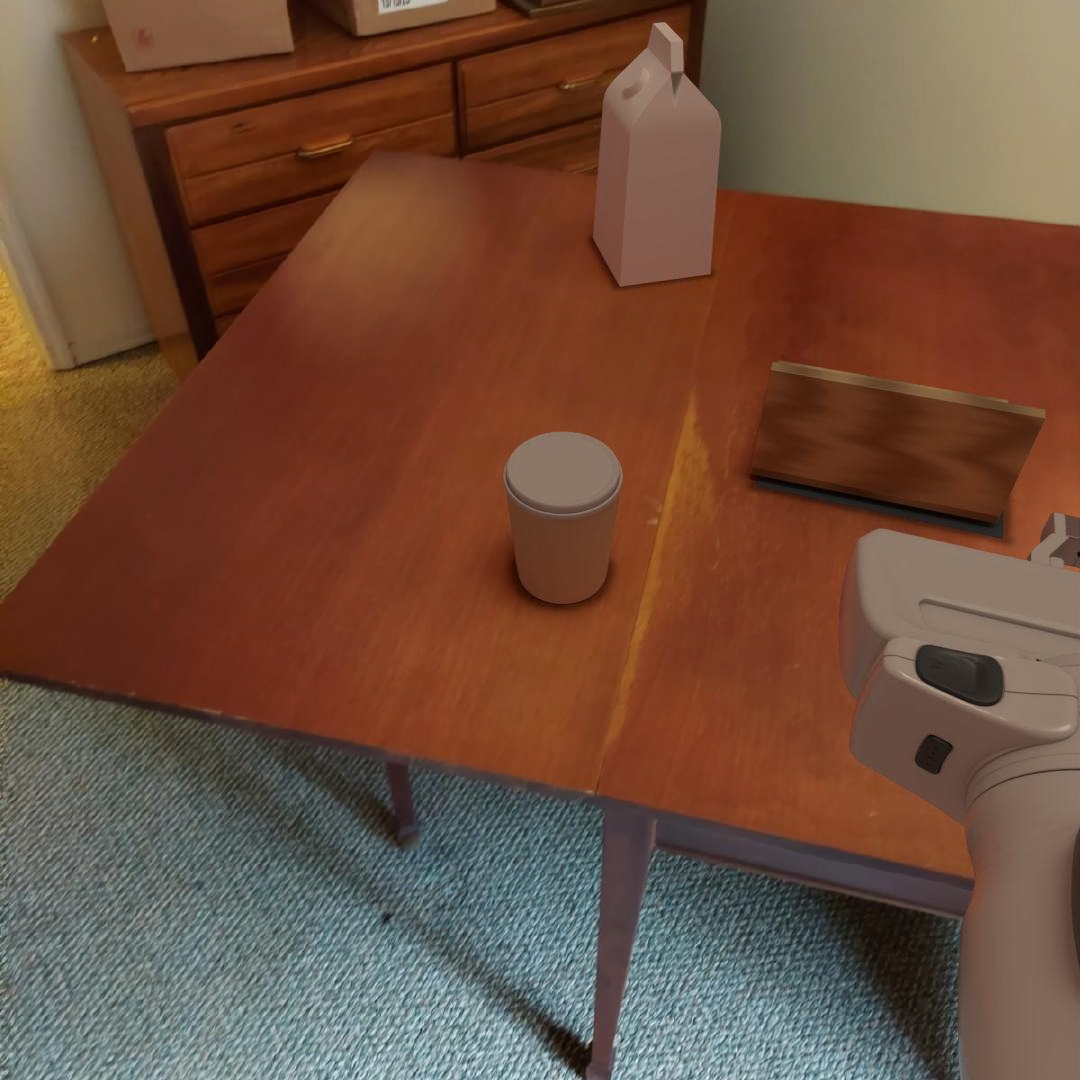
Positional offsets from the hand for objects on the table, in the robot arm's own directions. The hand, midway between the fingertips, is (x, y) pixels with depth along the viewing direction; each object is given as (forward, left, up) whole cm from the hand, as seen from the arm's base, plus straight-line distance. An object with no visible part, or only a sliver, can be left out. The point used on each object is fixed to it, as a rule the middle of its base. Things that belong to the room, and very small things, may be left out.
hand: (1079, 528), depth 45 cm
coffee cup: (+30, -15, -29) cm, 45 cm away
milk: (+36, -69, -29) cm, 83 cm away
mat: (+5, -40, -29) cm, 49 cm away
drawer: (+6, -38, -29) cm, 48 cm away
